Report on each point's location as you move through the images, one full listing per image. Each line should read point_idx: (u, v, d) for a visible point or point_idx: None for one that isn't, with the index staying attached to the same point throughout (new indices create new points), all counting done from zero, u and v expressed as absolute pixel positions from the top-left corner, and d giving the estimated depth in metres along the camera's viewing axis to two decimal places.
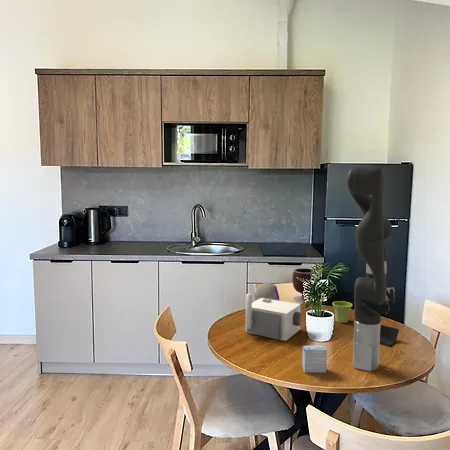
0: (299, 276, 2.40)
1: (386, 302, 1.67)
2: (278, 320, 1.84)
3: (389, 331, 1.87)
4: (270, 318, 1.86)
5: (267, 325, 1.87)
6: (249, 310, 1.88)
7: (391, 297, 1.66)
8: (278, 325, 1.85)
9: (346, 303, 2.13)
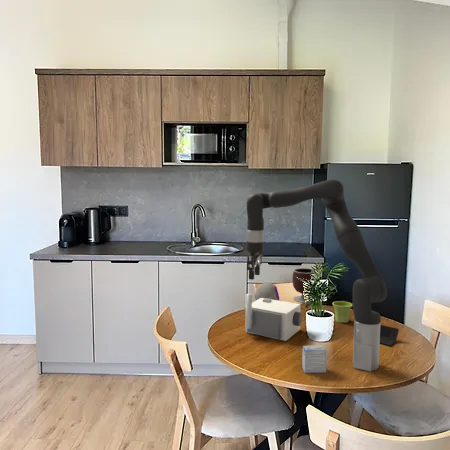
0: (299, 276, 2.40)
1: (260, 264, 1.91)
2: (278, 320, 1.84)
3: (389, 331, 1.87)
4: (270, 318, 1.86)
5: (267, 325, 1.87)
6: (249, 310, 1.88)
7: (261, 258, 1.92)
8: (278, 325, 1.85)
9: (346, 303, 2.13)
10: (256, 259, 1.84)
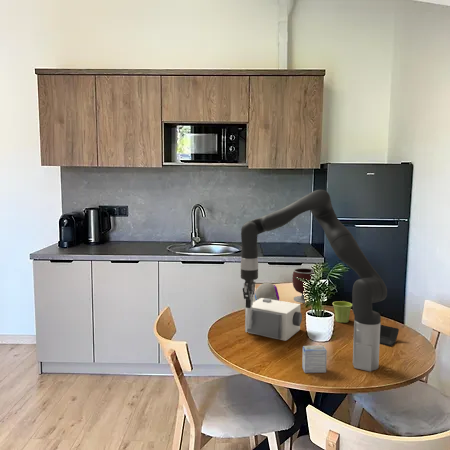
0: (299, 276, 2.40)
1: (252, 295, 1.89)
2: (278, 320, 1.84)
3: (389, 331, 1.87)
4: (270, 318, 1.86)
5: (267, 325, 1.87)
6: (249, 310, 1.88)
7: (254, 289, 1.92)
8: (278, 325, 1.85)
9: (346, 303, 2.13)
10: (251, 288, 1.85)
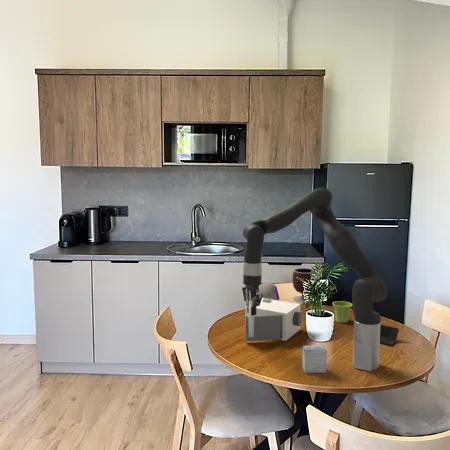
0: (299, 276, 2.40)
1: None
2: (280, 320, 1.84)
3: (389, 330, 1.87)
4: (271, 321, 1.83)
5: (268, 328, 1.83)
6: (253, 317, 1.78)
7: None
8: (280, 326, 1.84)
9: (346, 303, 2.13)
10: None
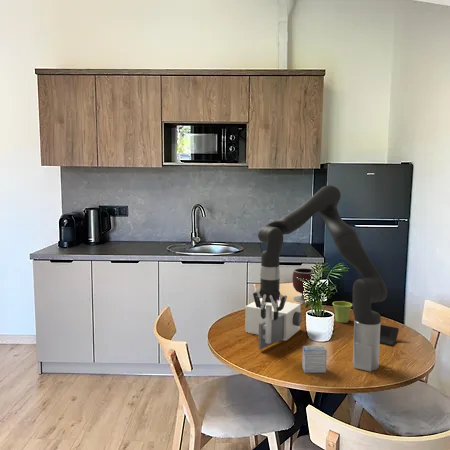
0: (299, 276, 2.40)
1: None
2: (282, 320, 1.83)
3: (389, 330, 1.87)
4: (277, 322, 1.81)
5: (275, 331, 1.80)
6: (271, 322, 1.72)
7: None
8: (282, 326, 1.84)
9: (346, 303, 2.13)
10: None
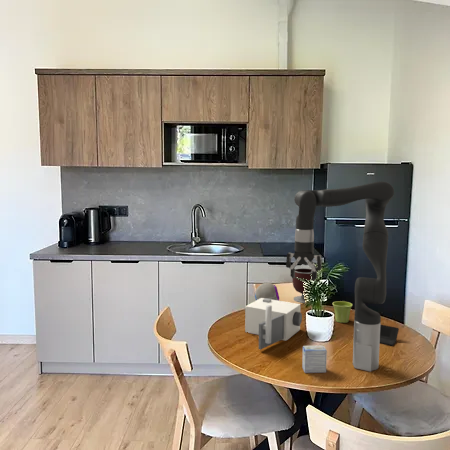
0: (299, 276, 2.40)
1: None
2: (282, 320, 1.83)
3: (389, 330, 1.88)
4: (277, 322, 1.81)
5: (275, 331, 1.80)
6: (271, 322, 1.72)
7: None
8: (282, 326, 1.84)
9: (346, 303, 2.13)
10: None
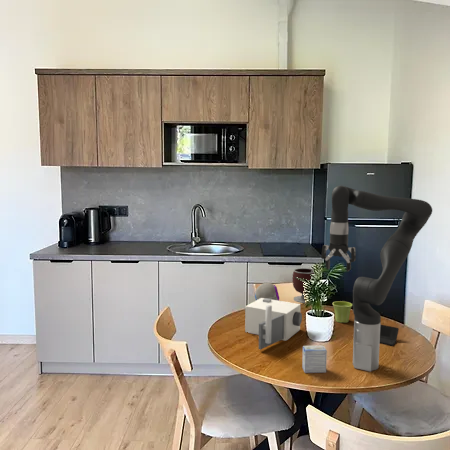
0: (299, 276, 2.40)
1: None
2: (282, 320, 1.83)
3: (389, 330, 1.88)
4: (277, 322, 1.81)
5: (275, 331, 1.80)
6: (271, 322, 1.72)
7: None
8: (282, 326, 1.84)
9: (346, 303, 2.13)
10: None
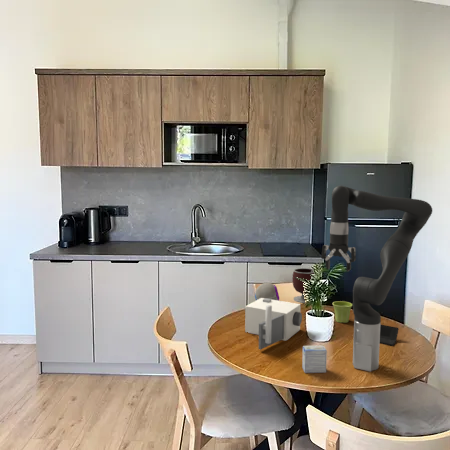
0: (299, 276, 2.40)
1: None
2: (282, 320, 1.83)
3: (389, 330, 1.88)
4: (277, 322, 1.81)
5: (275, 331, 1.80)
6: (271, 322, 1.72)
7: None
8: (282, 326, 1.84)
9: (346, 303, 2.13)
10: None
